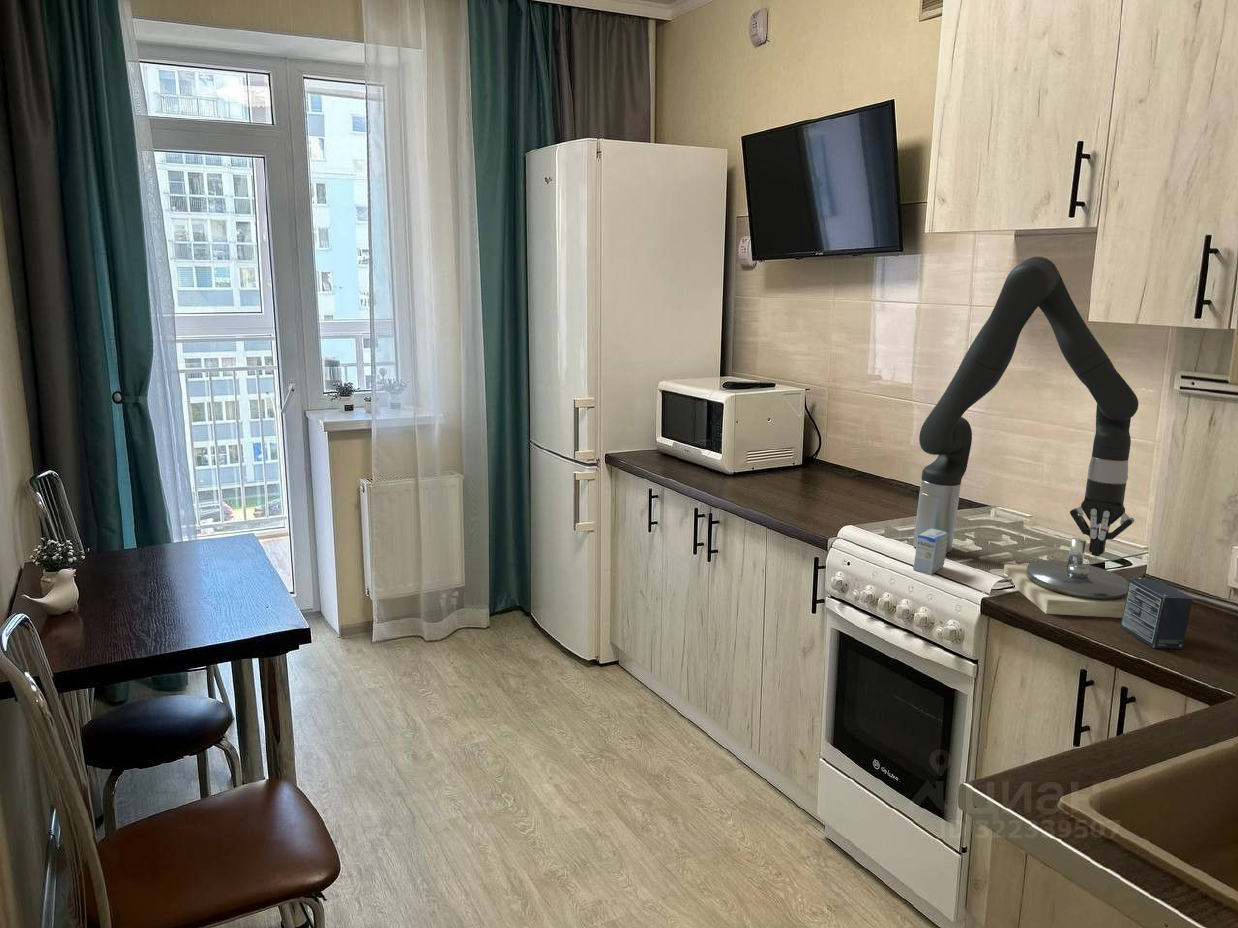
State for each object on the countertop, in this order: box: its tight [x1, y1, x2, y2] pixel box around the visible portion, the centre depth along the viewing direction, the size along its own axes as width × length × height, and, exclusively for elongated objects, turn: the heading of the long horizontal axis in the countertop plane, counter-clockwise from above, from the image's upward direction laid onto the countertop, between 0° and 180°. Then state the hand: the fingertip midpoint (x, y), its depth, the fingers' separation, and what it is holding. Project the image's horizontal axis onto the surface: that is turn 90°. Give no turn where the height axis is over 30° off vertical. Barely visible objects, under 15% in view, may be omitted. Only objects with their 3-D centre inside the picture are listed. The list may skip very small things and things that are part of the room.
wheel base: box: [1003, 564, 1127, 619], centre depth 196 cm, size 22×22×3 cm
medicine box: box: [913, 529, 949, 575], centre depth 209 cm, size 8×4×9 cm, turn 141°
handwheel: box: [1026, 537, 1129, 599], centre depth 195 cm, size 20×20×8 cm
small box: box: [1119, 577, 1194, 650], centre depth 175 cm, size 11×6×10 cm, turn 5°
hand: (1096, 555), depth 200 cm, fingers closed
